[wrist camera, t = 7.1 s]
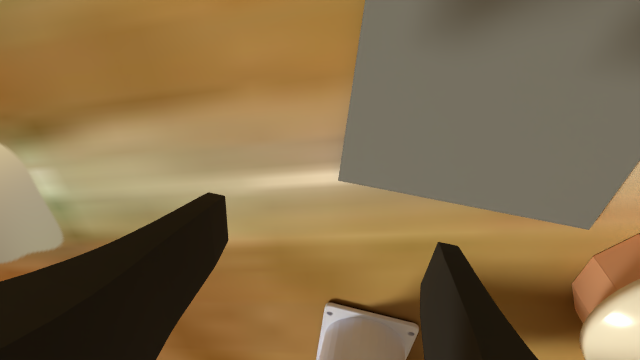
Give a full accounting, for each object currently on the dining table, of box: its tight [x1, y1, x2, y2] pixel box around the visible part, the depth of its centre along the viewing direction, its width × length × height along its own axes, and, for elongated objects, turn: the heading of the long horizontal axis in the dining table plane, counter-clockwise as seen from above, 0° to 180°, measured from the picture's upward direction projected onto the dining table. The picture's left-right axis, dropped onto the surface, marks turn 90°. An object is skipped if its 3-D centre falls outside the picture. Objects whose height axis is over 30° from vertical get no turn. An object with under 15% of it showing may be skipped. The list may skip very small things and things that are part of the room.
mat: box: [338, 0, 640, 230], centre depth 16 cm, size 15×15×1 cm
